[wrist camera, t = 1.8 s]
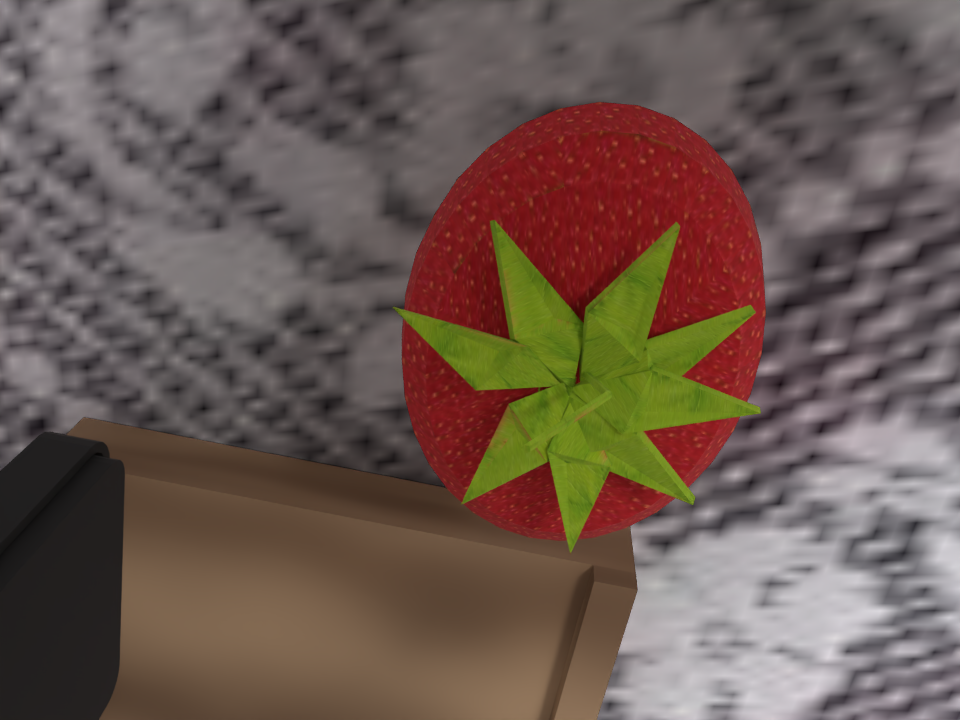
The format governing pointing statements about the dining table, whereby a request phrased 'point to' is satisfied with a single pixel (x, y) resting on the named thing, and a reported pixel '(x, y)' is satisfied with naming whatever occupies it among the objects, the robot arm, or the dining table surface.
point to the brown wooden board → (346, 595)
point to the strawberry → (583, 322)
